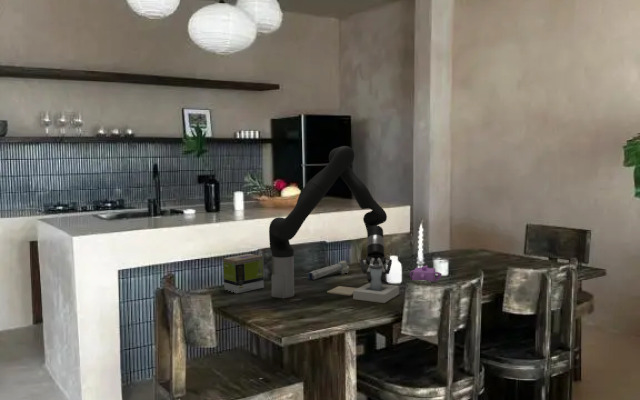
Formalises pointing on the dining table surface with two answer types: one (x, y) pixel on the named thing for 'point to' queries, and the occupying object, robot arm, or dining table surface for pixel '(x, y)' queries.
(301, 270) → the dining table surface
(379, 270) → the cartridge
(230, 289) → the tea box
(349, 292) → the mat
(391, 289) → the housing
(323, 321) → the dining table surface
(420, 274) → the teapot
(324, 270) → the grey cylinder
